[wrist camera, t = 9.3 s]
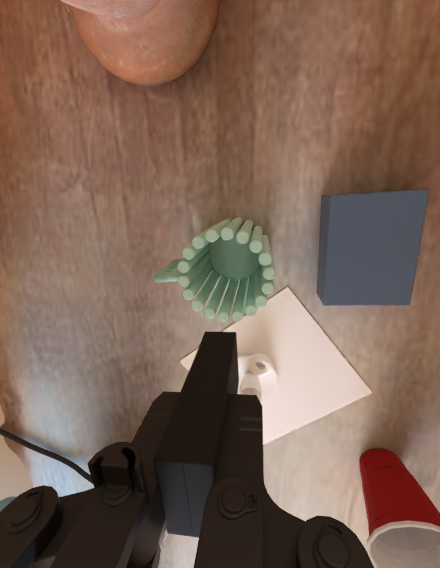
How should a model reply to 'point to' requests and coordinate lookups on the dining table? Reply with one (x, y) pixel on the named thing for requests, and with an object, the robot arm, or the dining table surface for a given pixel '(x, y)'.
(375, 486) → the plastic cup
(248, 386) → the teacup and saucer
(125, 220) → the dining table surface
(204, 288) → the green rod mug
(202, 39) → the ceramic jug
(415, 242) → the block
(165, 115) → the dining table surface
